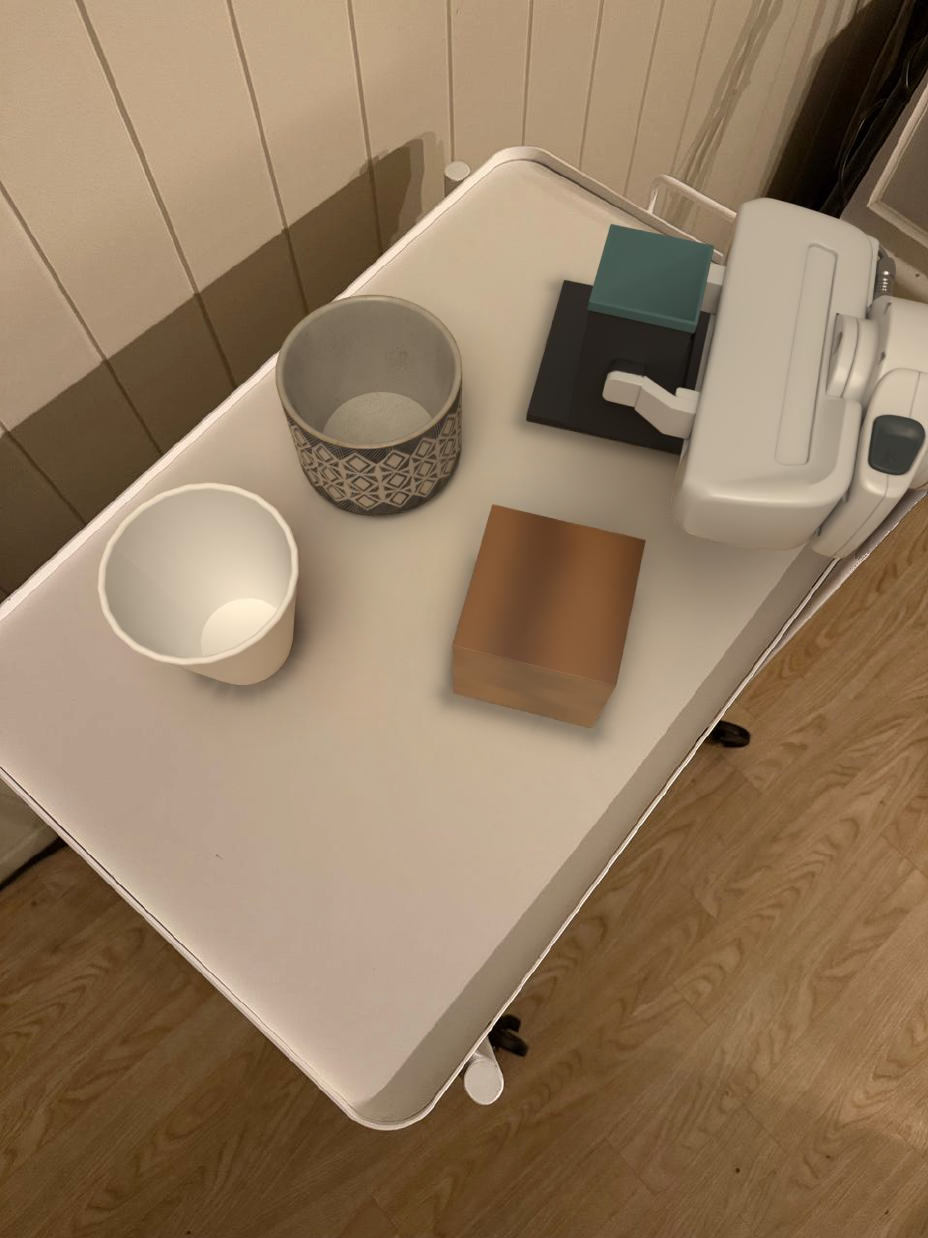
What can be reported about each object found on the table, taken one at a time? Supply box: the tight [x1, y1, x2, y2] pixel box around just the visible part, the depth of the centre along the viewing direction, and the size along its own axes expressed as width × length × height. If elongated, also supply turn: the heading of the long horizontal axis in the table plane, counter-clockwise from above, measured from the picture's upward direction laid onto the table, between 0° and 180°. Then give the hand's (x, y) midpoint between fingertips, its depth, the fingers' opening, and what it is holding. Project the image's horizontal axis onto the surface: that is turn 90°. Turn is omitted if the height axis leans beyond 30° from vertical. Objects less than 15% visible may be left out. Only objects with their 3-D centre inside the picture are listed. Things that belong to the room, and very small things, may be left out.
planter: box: [274, 294, 463, 516], centre depth 64 cm, size 13×13×10 cm
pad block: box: [567, 223, 715, 446], centre depth 46 cm, size 5×5×10 cm
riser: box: [452, 503, 647, 729], centre depth 58 cm, size 10×10×10 cm
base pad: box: [525, 279, 711, 456], centre depth 70 cm, size 16×14×3 cm
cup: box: [97, 481, 300, 686], centre depth 57 cm, size 12×12×12 cm
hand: (618, 331), depth 46 cm, fingers closed on pad block, 5 cm apart
